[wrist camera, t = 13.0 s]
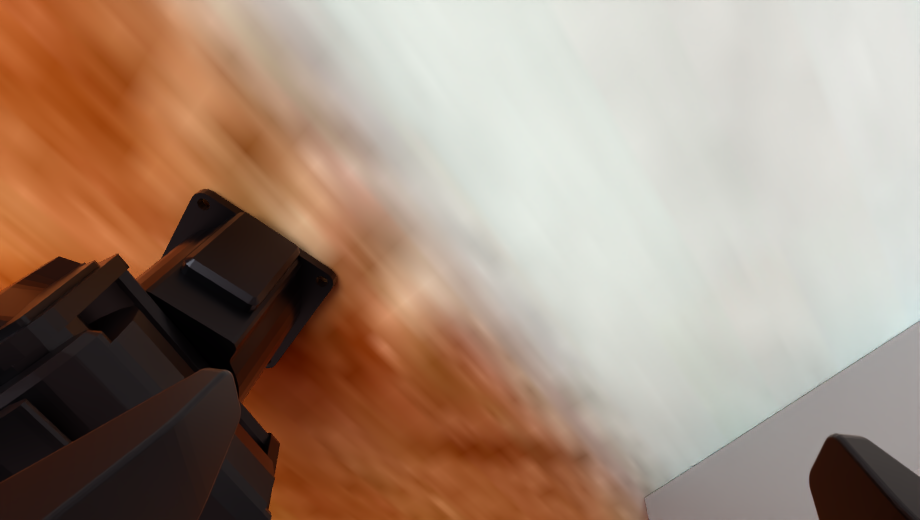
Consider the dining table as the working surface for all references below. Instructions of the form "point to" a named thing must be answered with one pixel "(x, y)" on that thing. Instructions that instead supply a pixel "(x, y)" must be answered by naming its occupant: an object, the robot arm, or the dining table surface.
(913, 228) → the dining table surface
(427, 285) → the dining table surface
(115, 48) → the dining table surface
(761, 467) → the well block
